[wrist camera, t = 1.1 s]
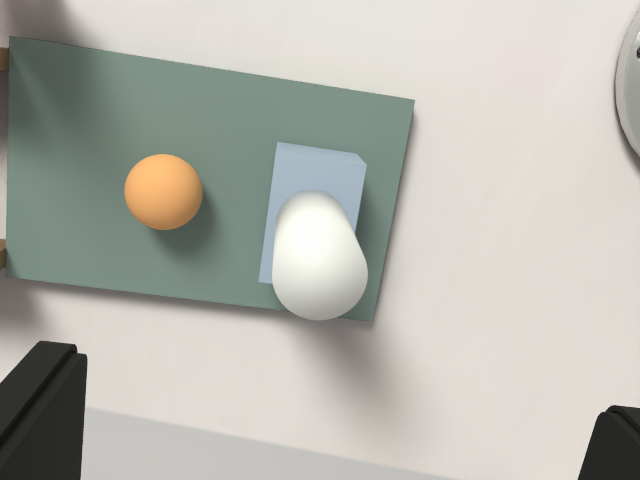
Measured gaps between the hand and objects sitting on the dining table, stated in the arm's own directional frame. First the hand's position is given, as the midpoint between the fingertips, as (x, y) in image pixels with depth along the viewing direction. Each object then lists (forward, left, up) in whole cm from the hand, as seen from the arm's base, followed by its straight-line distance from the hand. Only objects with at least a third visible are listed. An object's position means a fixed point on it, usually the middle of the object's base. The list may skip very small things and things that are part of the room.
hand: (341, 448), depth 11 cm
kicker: (0, 0, -20) cm, 20 cm away
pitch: (+5, 0, -22) cm, 23 cm away
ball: (+7, 0, -19) cm, 20 cm away
